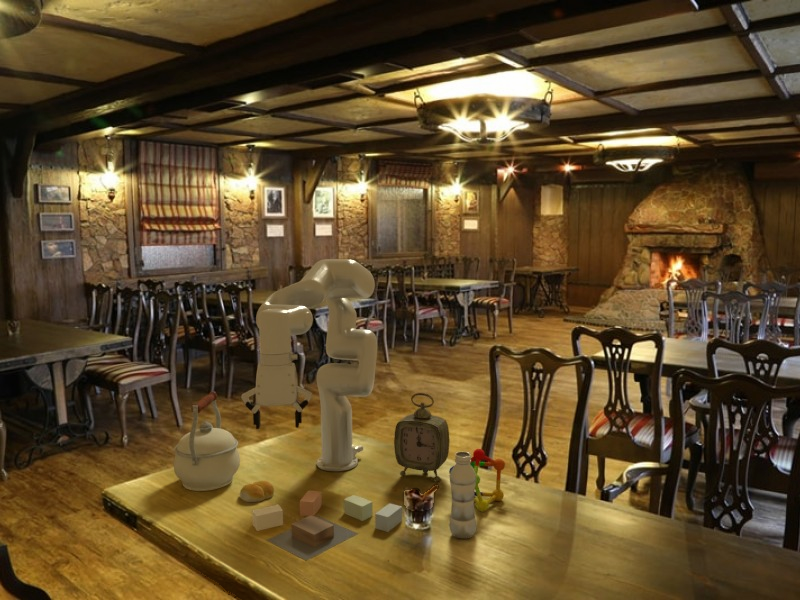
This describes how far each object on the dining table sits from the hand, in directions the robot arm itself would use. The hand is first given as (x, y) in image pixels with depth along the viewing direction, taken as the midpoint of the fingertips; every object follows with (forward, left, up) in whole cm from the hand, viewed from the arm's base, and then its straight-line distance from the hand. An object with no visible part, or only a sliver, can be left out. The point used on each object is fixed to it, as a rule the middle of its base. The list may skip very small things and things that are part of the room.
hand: (277, 426), depth 158 cm
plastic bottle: (-22, +41, -24) cm, 52 cm away
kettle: (-2, -35, -24) cm, 43 cm away
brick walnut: (+3, +16, -23) cm, 28 cm away
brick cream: (+6, +3, -24) cm, 25 cm away
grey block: (-13, +25, -24) cm, 37 cm away
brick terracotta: (-6, +5, -24) cm, 25 cm away
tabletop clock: (-44, +11, -24) cm, 51 cm away
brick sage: (-12, +16, -24) cm, 31 cm away
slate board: (+3, +16, -24) cm, 29 cm away
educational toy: (-39, +33, -24) cm, 56 cm away
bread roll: (-4, -15, -24) cm, 29 cm away
